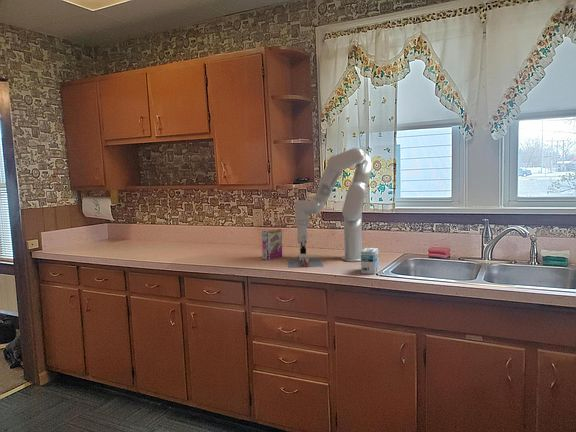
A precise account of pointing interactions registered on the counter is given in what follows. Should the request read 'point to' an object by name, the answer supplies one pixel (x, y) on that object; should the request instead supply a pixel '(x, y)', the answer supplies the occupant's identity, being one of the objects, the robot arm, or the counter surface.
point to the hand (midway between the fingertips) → (303, 255)
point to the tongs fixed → (306, 262)
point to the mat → (298, 264)
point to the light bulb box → (369, 260)
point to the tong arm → (303, 261)
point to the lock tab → (303, 256)
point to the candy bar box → (271, 244)
